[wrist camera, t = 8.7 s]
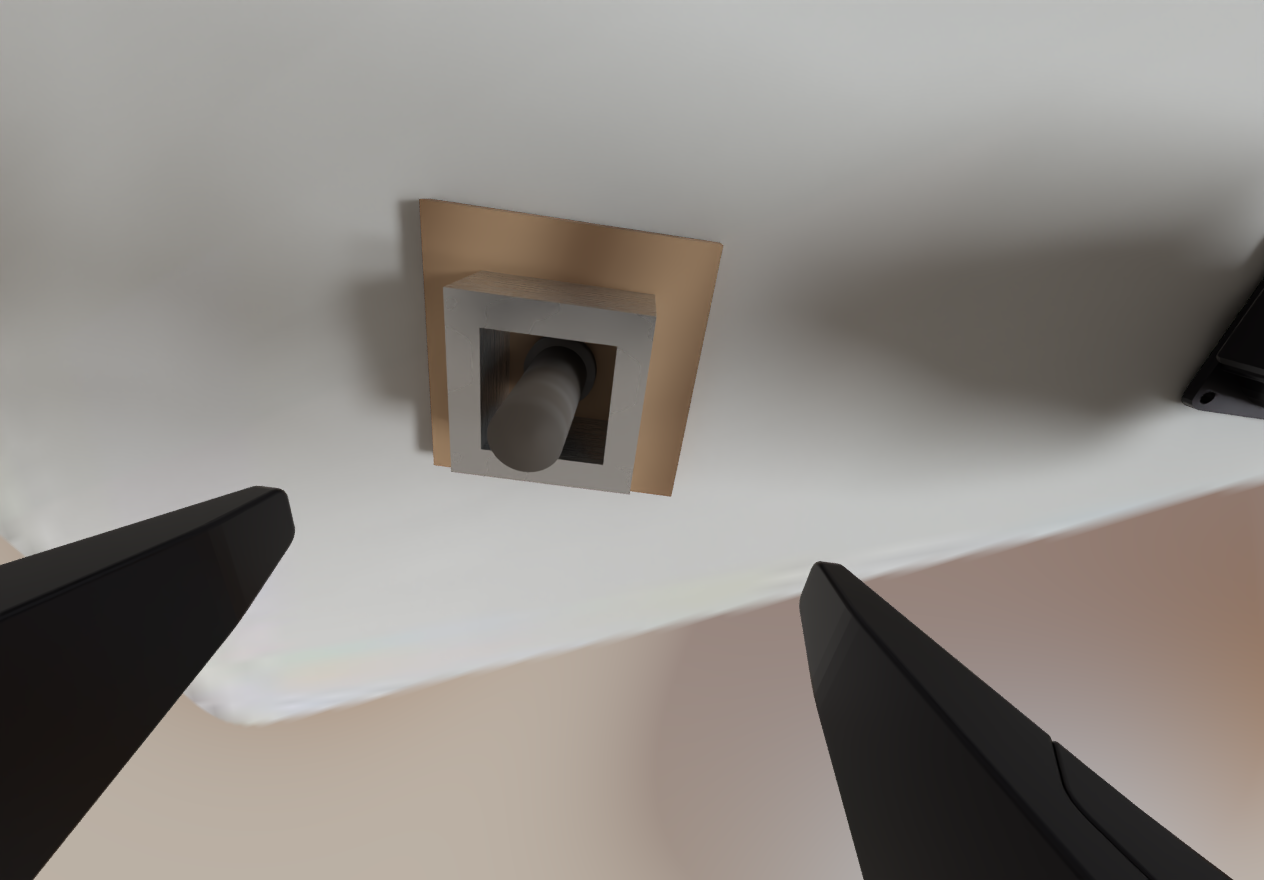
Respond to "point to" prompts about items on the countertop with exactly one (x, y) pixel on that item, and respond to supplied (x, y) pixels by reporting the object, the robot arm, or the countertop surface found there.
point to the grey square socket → (557, 310)
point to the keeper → (566, 369)
